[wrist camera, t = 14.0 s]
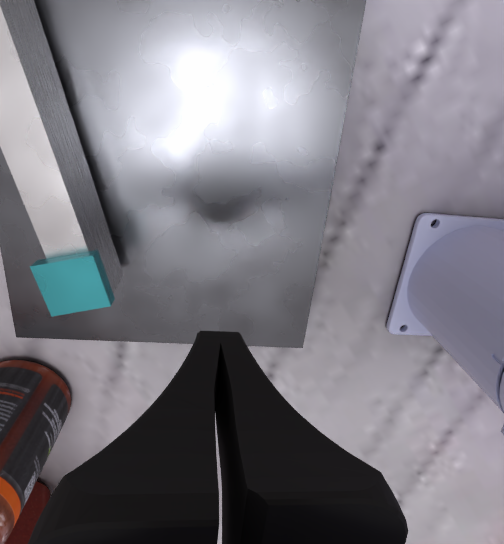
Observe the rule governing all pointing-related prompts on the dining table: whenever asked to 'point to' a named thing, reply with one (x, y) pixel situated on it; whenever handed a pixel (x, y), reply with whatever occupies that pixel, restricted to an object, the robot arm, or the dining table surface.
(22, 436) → the supplement bottle
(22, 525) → the plant pot
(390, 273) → the dining table surface
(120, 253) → the tray
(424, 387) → the dining table surface
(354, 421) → the dining table surface
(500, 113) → the dining table surface
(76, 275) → the bar
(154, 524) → the robot arm
